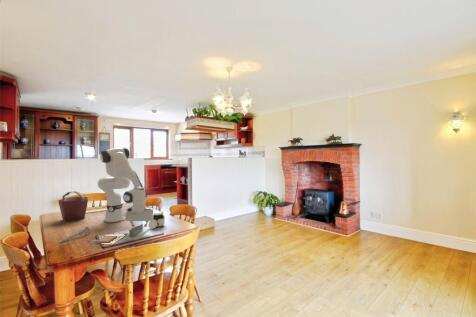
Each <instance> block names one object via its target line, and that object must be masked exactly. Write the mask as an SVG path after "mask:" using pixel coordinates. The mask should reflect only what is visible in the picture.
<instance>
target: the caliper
mask: <svg viewBox="0 0 476 317" xmlns="http://www.w3.org/2000/svg"><path fill="white" fill-rule="evenodd" d="M90 232H91V231H90V228H89V227H88V226H86V227H84V229H82V230H80V231H78V232H76V233H74V234H72V235H70V236H67V237H65V238H62V239H61V240H59V241H58V243H57V244H60V243H64V242H67V241H69V240H70V239H73V238H75V237H77V236H82V235H83V234H85V236H87V235H90Z"/></svg>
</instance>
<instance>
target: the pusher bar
mask: <svg viewBox="0 0 476 317" xmlns="http://www.w3.org/2000/svg"><path fill="white" fill-rule="evenodd" d="M143 226H144V223H138V224H137V225H135V226H134V227H132V228H131V229H129V230H128V231H129V234H128V235H129V238H134V237H135V236H136V235H137V234H139V233H140V232H141V231H142V230H143V229H144V228H143Z"/></svg>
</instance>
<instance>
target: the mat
mask: <svg viewBox="0 0 476 317" xmlns="http://www.w3.org/2000/svg"><path fill="white" fill-rule="evenodd" d="M122 233H123V232H122ZM106 234H114V233H108V232H107V233H106ZM123 234H124V235H125V237H127V236H128V235H129V233H126V232H125V233H123ZM98 239H99V238H97V239H95V240H94V241H92V242H91V243H89V245H90V246H91V245H92V246H93V245H94V246H98V245H101V243H97V241H98ZM113 245H115V244H113ZM113 245H112V246H113Z"/></svg>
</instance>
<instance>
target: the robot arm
mask: <svg viewBox="0 0 476 317" xmlns="http://www.w3.org/2000/svg"><path fill="white" fill-rule="evenodd" d="M130 156H131V153H130V150H129V149H128V148H127V147H125V146H124V147H123V146H122V147H115V148H109V149H104V150H102V151H100V154H99V159H100V160H101V162H102V163H104V164H105V172H106V174H107V175H108V176H107V177H101V178H99V180H98V181H97V186H98V188H99V189H100V190H102V191H103V192H104V194H105V195H106V201H107V205H106V210H105V214H104V215H105V216H104V219H103V221H105V222H106V223H116V222H120V221H126V222H129V223H130V224H131V227H132V228H134V227H135V226H136V225H135V223H134V222H145V223H143V226H144V227H145V228H146V227H148V225H149V222H150V221H152V220H153V215H154V210H153V208H151V207H150V208H147V204H146V199H147V196H148V193H147V191H146V189H145V187H144V186H143V184H142V182H141V180H140V177H139V175H138V174H137V172H136V171H134V169H133V168H132V167H131V165H130V163H129V160H128V159H129V158H130ZM109 176H110V177H109ZM131 182H132V185H133V188H132V189H130V190H127V191H125V192H124V193H123V195H122V196H121V194H120V193H118V192H116V191H114V190H123V189H127V188H129V187H130V185H131ZM122 199H123V201H124V203H126V204H132V206H129V207H127V208H126V210H125V209H124V207H123V206H124V203H122Z"/></svg>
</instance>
